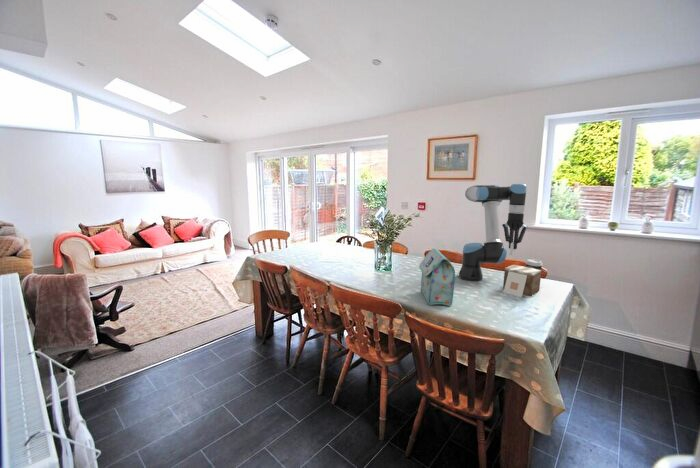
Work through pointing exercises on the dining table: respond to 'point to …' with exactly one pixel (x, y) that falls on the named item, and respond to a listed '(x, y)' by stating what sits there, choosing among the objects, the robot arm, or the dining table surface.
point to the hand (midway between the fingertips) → (512, 254)
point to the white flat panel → (515, 284)
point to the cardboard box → (531, 281)
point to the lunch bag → (437, 278)
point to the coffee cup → (534, 264)
